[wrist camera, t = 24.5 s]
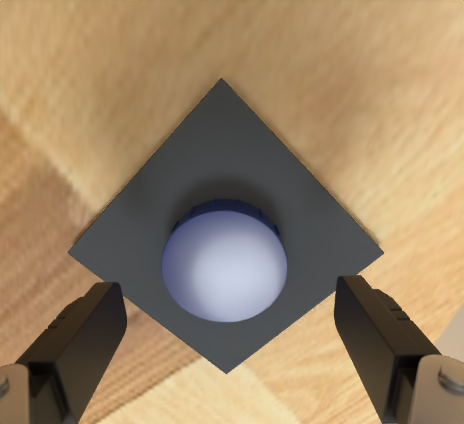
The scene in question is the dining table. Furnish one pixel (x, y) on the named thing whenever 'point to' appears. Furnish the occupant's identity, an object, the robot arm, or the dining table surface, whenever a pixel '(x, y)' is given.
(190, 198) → the mat
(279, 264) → the jar lid
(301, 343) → the dining table surface
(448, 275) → the dining table surface
